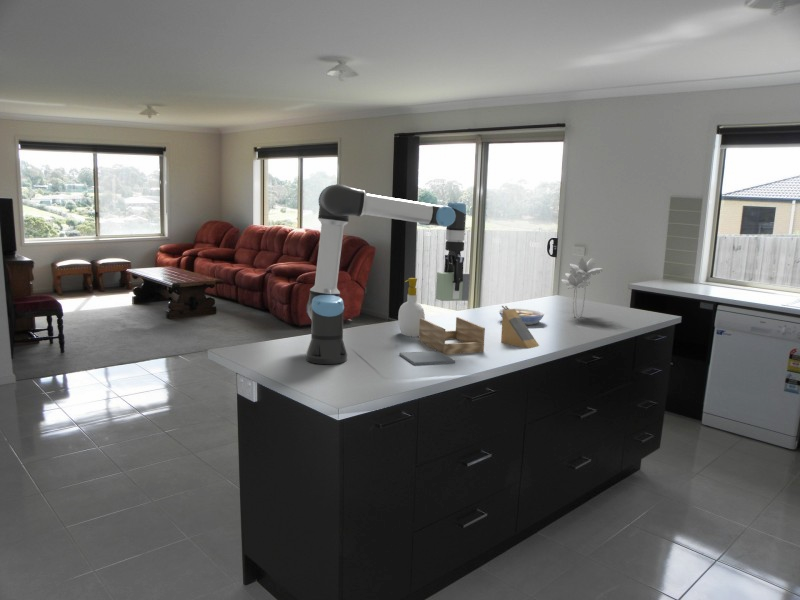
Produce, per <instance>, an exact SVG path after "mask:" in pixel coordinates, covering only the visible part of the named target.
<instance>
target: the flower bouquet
mask: <svg viewBox="0 0 800 600" xmlns="http://www.w3.org/2000/svg"><path fill="white" fill-rule="evenodd" d="M595 262H596V260H595V258H594V257H591V258H590V259H589V260H588V261H587V262H586V260H585V259H584V257H583V256H582V257H581V258H580V259H579V261H578V262H577V263H578V265H577V264H575V263H574V264H573V263H569V266H570V267H571V268H570V272H566V273H565V274H564V275H565V276H566V277H567V279H563V278H562V279H560V280H561V282H562V283H563V284H564V285H566V286H567V287H566V289H568V290H569V289H573V298H572V299H573V301H572V314H573V318H576V316H577V315H578V311H577V295H578V289H580V288H584V291H583V293H584V294H583V301H582V308H581V313H580V315H579V317H580V318H582V316H583V313H584V307H585V301H586V287H588V286H589V285H590V283H591V281H587V280H590V278H592V276H595V275H599V274H600V273H601V272H603V271H604V268H602V267H596V268H595V266H596V263H595Z"/></svg>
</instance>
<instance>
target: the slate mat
mask: <svg viewBox="0 0 800 600" xmlns="http://www.w3.org/2000/svg"><path fill="white" fill-rule="evenodd" d="M399 356H400V357H401V358H403V359H405V360H406V361H408V362H409V363H411V365H413V366H422V365H423V366H424V365H425V366H426V365H427V366H428V365H443V364H444V365H445V364H455V363H456V359H454V358H451V357H450V356H448V355H447V354H443V353H441V352H439V351H436V350H425V351H424V350H423V351H406V352H405V351H404V352H401V351H399Z"/></svg>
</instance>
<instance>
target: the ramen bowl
mask: <svg viewBox="0 0 800 600" xmlns="http://www.w3.org/2000/svg"><path fill="white" fill-rule="evenodd" d="M509 309H515V310H516V312H517V313H518V315H519V316H520V318H521V319H522V321H523V322H524V324H525V325H526V326H531V325H532V326H533V324H534V325H536V324H538V323H539V322H540V321H541V320H542V319H543V318H544V315H545V312H544V311H540V310H536V309H530V308H529V309H528V308H517V307H516V308H513V307H511V308H509V307H508V306H507V305H505V306H504V305H501V309H498V312H499V316H500V317H501V318H502V315H503V310H509Z"/></svg>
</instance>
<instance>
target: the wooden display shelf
mask: <svg viewBox="0 0 800 600" xmlns="http://www.w3.org/2000/svg"><path fill="white" fill-rule="evenodd" d="M485 332H486V327H484V326H482V325H478V324H476V323H474V322H471V321H468V320H466V319H464V318H462V317H458V316H456V318H455V330H446V329H445V328H443V327H441V326H439V325H437V324H435V323H433V322H430V321H428V320H427V319H425V320H424V319H422V318H420V326H419V337H418V341H419V342H421V343H422V344H424V345H426V346H428V347H430V349H432V350H433V351H439V352H441V353H443V354H445V355H454V354H455V355H457V354H470V353H481V352H482V353H483V352H485ZM449 338H454V339H456V338H457V339H456V340H458V339H459V340H458V341H461V342H458V343H457V342H454V343H446V340H448V339H449ZM449 340H450V339H449Z"/></svg>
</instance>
